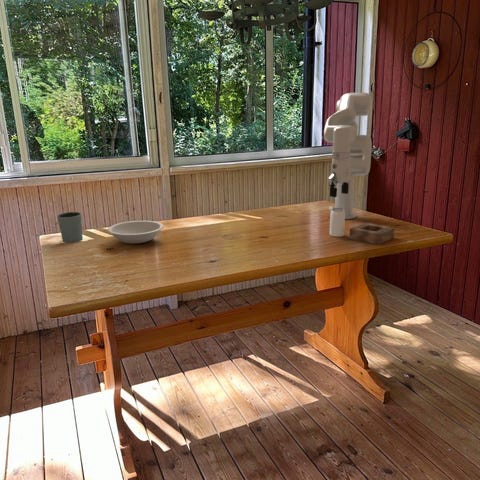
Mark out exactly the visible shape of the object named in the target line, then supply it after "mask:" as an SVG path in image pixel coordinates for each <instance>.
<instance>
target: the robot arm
mask: <svg viewBox="0 0 480 480" xmlns="http://www.w3.org/2000/svg"><path fill="white" fill-rule="evenodd" d="M335 108H336V112H334V113H333V114H331V115H330V116H329V117H328V118H327V119H326V122H325V125H324V129H323V138H324V141H325V142H327V143H331V144H332V148H331V149H332V151H331V153H332V154H331V159H332V160H331V166H330V173H329V174H330V176H329V177H328V179H327V182H328V185H329V197H332V198H334V206H329V208H328V211H329V212H331V211H332V209H333V208H342V209H344V211H345V220H352V219H355V218H356V217H357V215H356V213H354V201H355V199H354V198H355V181H354V179H353V178H352V176H367V175H368V174H369V173H370V170H371V163H372V162H371V161H372V160H371V159H372V146H373V143H372V138H371V136H369V135H368V134H358V123H357V122H356V117H359V116H365V117H366V116H369V115H370V114H371V113H372V111H373V101H372V97H371V95H370V93H368V92H348V93H344V94H342V96H341V97H340V99H338V100H337V101H336V105H335ZM356 155H357V156H356Z"/></svg>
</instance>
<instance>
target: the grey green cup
mask: <svg viewBox="0 0 480 480" xmlns="http://www.w3.org/2000/svg"><path fill="white" fill-rule="evenodd" d="M56 218H57V222H58V226H59V229H60V231H59V232H60V235H61V241H62V242H63V243H65V244H73V243H79V242H81V241H83V224H82V212H79V211H68V212H67V211H66V212H62V213H59V214H58V215H56Z"/></svg>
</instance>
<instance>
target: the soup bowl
mask: <svg viewBox="0 0 480 480" xmlns="http://www.w3.org/2000/svg"><path fill="white" fill-rule="evenodd" d="M163 229H164V224H163V223H161V222H159V221H154V220H132V221H129V220H128V221H123V222H118V223H116V224H112V225H111V226H109V227H107V232H108V233H109V234H111V235H112V236H113V237H114V238H115V239H116V240H117V241H119V242H121V243H125V244H133V245H134V244H142V243H143V244H144V243H147V242H149V241H152V240H154V238H155V237H157V235H158V234H159V233H160V231H161V230H163Z"/></svg>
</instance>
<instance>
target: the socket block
mask: <svg viewBox="0 0 480 480" xmlns="http://www.w3.org/2000/svg"><path fill="white" fill-rule="evenodd" d="M394 235H395V227H393V226H387V225H381V224H375V223H369V222H363V223H361V224H358V225H356V226H353V227H351V228H349V237H348V238H349V239H351V240H354V241H360V242H364V243H368V244H369V243H370V244H373V245H374V244H375V245H379V246H380V245H381V244H384V243H386V242H387V241H389V240H391V239H394V237H395V236H394Z"/></svg>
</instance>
